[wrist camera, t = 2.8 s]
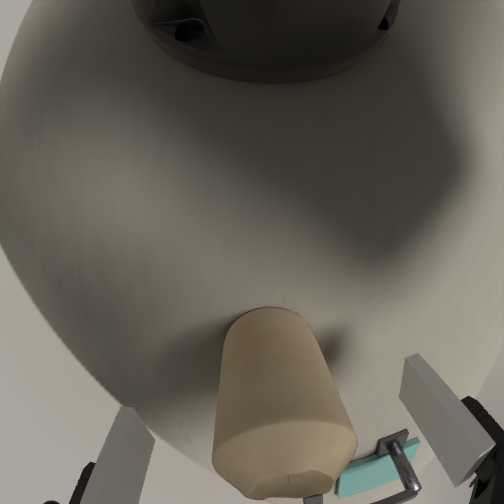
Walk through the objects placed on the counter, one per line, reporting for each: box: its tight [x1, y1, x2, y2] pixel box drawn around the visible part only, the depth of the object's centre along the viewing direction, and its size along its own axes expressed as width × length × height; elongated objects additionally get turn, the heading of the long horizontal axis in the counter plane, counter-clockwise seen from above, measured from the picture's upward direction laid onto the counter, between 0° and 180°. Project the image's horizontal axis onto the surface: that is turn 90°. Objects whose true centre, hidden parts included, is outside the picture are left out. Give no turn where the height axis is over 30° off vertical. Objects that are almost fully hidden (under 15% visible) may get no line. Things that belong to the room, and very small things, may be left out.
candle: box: [212, 307, 358, 500], centre depth 11 cm, size 6×6×10 cm
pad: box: [337, 437, 420, 499], centre depth 21 cm, size 9×9×1 cm
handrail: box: [303, 429, 422, 504], centre depth 15 cm, size 12×12×8 cm
